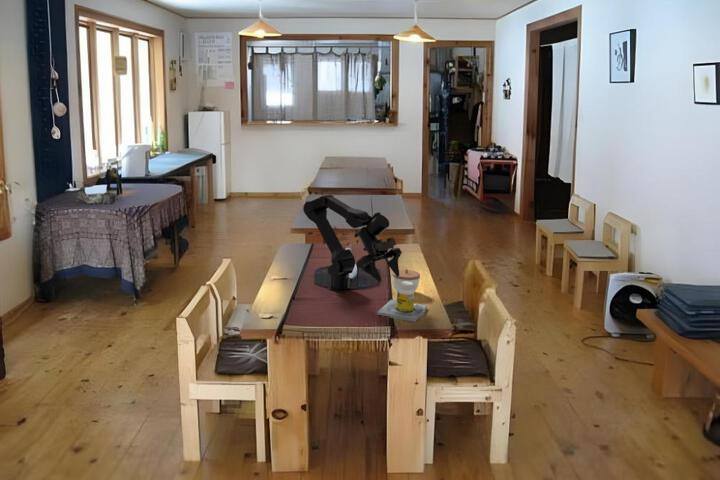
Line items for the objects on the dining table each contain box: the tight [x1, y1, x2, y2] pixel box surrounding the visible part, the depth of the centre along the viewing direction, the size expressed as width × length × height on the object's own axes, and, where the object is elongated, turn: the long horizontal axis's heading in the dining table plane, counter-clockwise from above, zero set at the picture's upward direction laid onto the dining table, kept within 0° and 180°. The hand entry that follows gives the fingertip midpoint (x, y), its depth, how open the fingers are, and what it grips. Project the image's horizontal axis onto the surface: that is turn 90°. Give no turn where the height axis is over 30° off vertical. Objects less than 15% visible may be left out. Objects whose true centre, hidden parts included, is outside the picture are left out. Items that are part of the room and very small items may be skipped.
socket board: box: [376, 299, 428, 323], centre depth 274 cm, size 15×16×1 cm
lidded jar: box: [392, 268, 421, 293], centre depth 296 cm, size 11×11×9 cm
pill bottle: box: [396, 281, 416, 313], centre depth 272 cm, size 6×6×11 cm
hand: (389, 278), depth 277 cm, fingers open, 9 cm apart
